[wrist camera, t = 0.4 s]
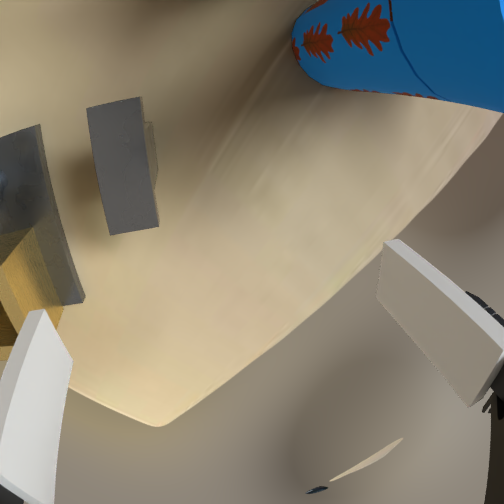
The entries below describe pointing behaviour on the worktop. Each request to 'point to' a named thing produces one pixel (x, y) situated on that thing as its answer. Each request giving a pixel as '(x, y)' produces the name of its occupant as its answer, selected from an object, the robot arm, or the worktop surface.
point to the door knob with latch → (30, 239)
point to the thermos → (406, 48)
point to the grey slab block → (125, 164)
